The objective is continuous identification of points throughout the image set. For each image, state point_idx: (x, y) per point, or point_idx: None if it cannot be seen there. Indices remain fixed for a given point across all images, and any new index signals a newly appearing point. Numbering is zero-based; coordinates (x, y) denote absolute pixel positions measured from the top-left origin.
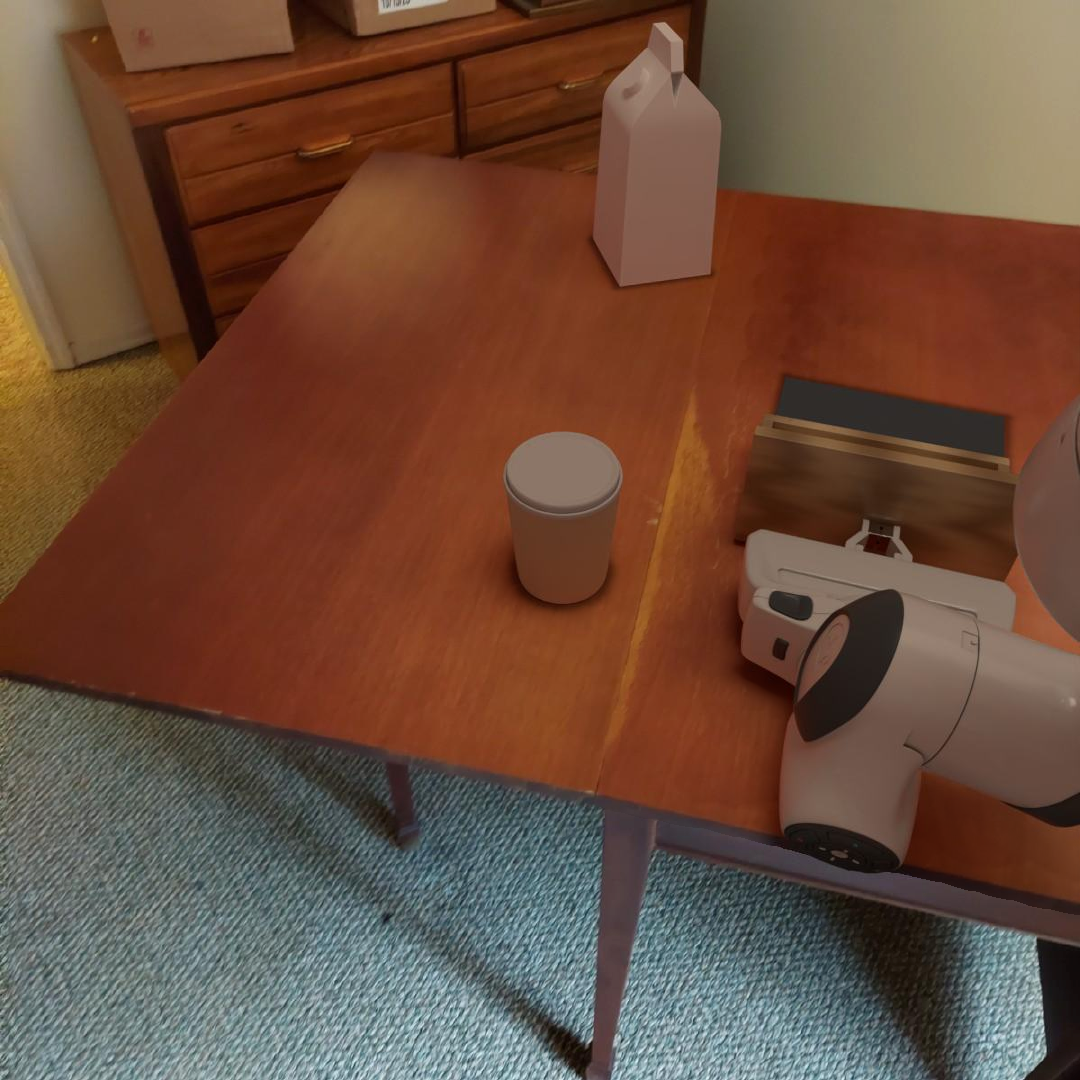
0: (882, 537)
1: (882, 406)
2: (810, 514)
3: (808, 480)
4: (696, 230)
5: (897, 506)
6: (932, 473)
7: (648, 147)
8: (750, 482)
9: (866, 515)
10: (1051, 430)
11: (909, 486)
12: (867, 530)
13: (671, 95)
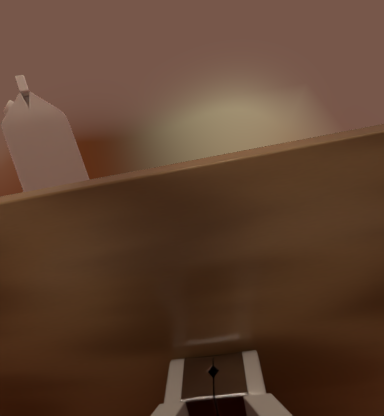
0: (222, 401)
1: None
2: (68, 387)
3: (10, 310)
4: None
5: (226, 301)
6: (262, 172)
7: (19, 136)
8: None
9: (174, 348)
10: None
11: (226, 236)
12: (178, 394)
13: (24, 103)
